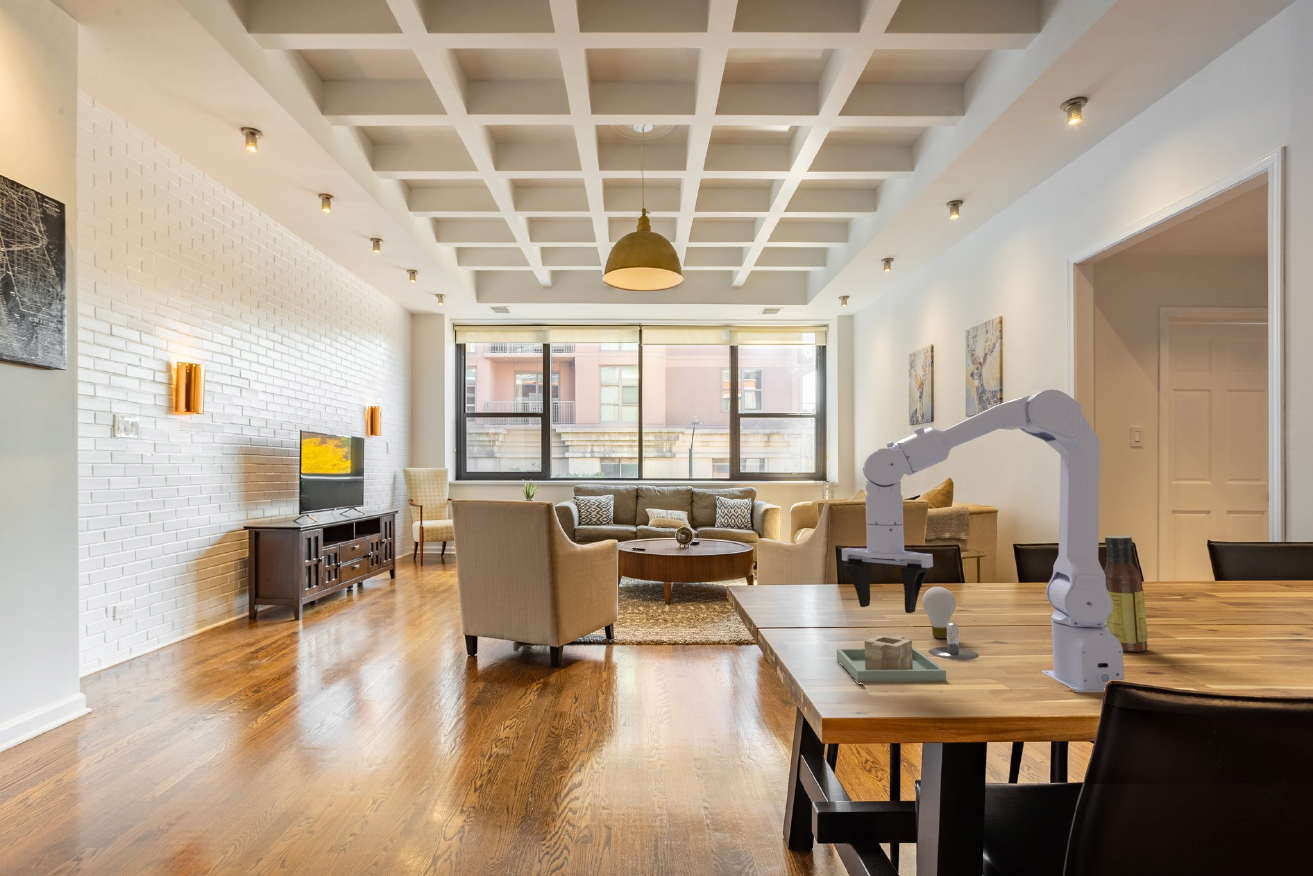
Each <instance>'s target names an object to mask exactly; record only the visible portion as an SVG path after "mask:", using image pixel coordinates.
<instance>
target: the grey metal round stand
mask: <svg viewBox="0 0 1313 876" xmlns="http://www.w3.org/2000/svg"><path fill="white" fill-rule="evenodd" d="M946 638H947V639H946V641H947V642H946V644H947V646H942V647H934V648H933V647H932V648H930V649H928V653H929V654H930V655H931V656H935V657H936V658H941V659H946V660H947V659H948V660H961V661H966V660H974V659H978V657H980V655H979V653H977V652H976V651H973V650H971V649H966V648H960V645H959V644H960V641H959V638H960V637H959V623H958V622H957V623H956V622H949V623H947V637H946Z"/></svg>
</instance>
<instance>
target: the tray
mask: <svg viewBox="0 0 1313 876" xmlns="http://www.w3.org/2000/svg"><path fill="white" fill-rule="evenodd" d="M837 660H838V661H839V662H840V663H841V664H842V665H843V666H844V668H845V669H846V670H847V671H848V672H849V673H850V675H852V677H853V678H854V679H855V680H856V681H857V682H858V683H860V682H861V683H865V682H868V683H869V682H878V683H879V682H882V683H884V682H947V670H946V669H945V668H943V667H942V666H940V665H939V664H938V663H937V662H935V661H934V660H932V659H931V658H929V657H928V656H926V655H925V654H924V653H922V652H921V651H920V650H919V649H917V648H916V647H914V648H913V647H912V663H913V668H912V669H910V670H869V669H865V648H836V661H837ZM838 661H837V662H838ZM844 668H843V669H844ZM845 669H844V670H845ZM846 670H845V671H846ZM850 675H849V676H850ZM852 677H851V678H852ZM853 678H852V679H853ZM854 679H853V680H854Z"/></svg>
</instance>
